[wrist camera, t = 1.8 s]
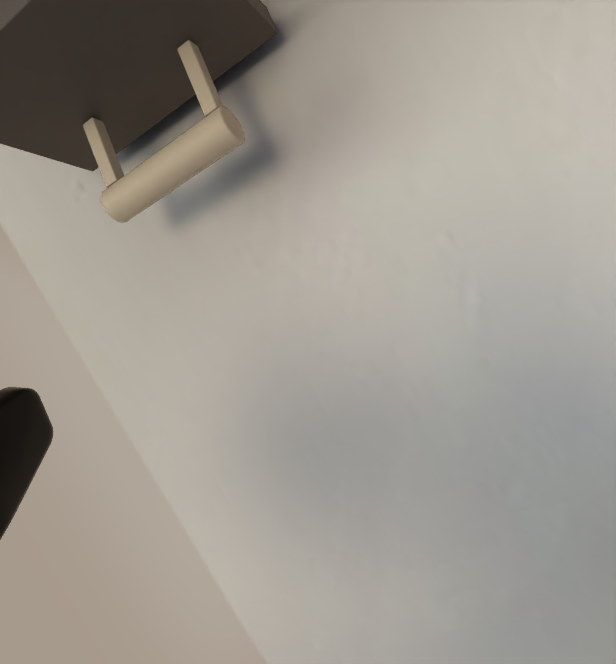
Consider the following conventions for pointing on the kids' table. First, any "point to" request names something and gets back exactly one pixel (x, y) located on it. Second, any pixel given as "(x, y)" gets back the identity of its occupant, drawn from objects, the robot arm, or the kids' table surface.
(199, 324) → the kids' table surface
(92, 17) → the drawer
